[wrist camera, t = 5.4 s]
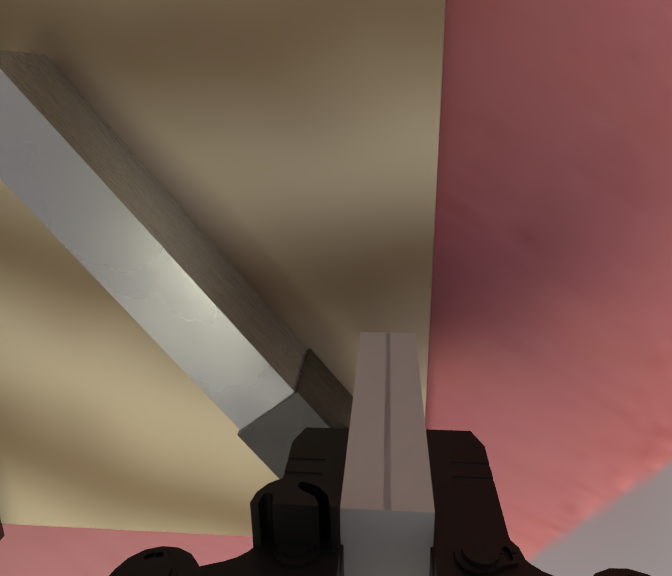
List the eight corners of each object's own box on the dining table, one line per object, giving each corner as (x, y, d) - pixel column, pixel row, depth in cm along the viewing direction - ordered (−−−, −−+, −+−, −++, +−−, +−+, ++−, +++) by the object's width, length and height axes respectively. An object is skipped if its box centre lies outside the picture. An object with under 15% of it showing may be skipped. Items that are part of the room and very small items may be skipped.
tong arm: (-191, 14, 14) (-421, -17, 10) (-97, -112, 13) (-313, -204, 9) (271, 490, 18) (238, 608, 14) (375, 422, 17) (373, 529, 13)
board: (-225, -119, 15) (-276, -136, 13) (447, -145, 13) (454, -167, 12) (-54, 496, 21) (-79, 519, 20) (416, 518, 19) (418, 544, 18)
